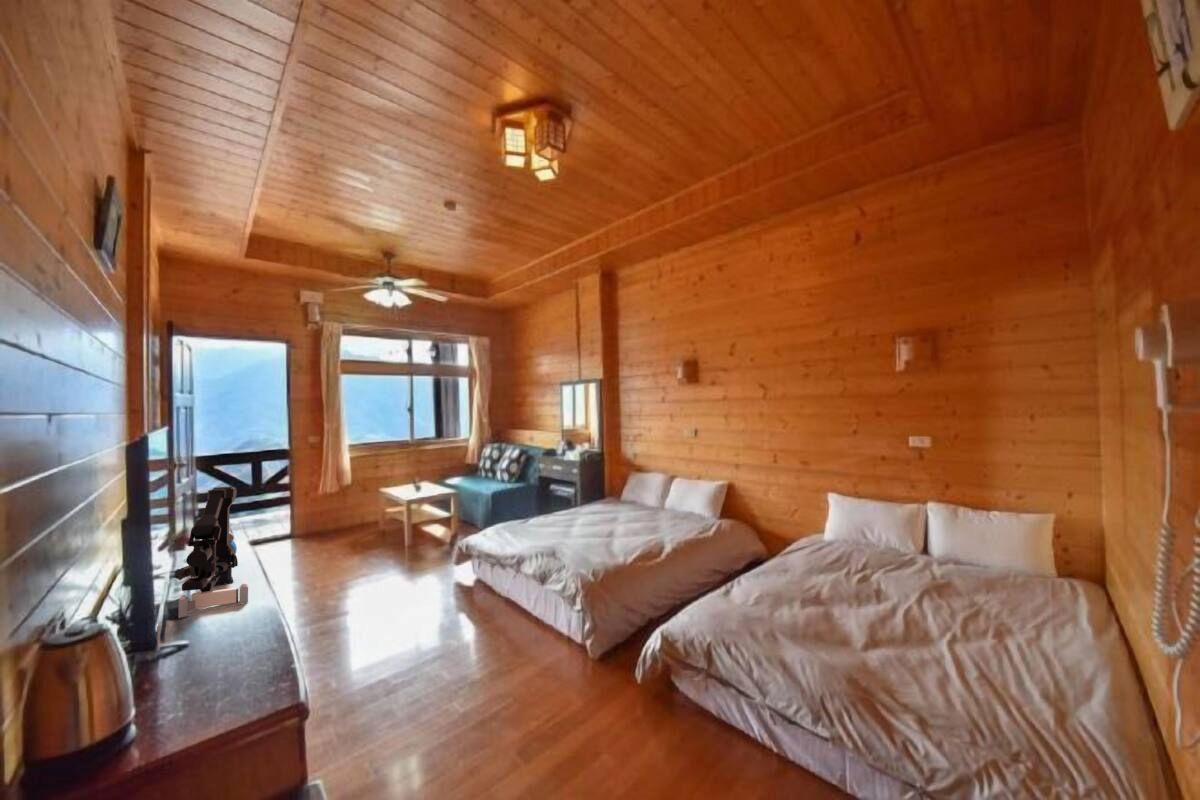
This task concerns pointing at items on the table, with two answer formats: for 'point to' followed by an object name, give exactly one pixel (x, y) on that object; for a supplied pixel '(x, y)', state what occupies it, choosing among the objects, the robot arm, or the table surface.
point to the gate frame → (188, 606)
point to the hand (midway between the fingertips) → (206, 598)
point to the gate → (215, 597)
